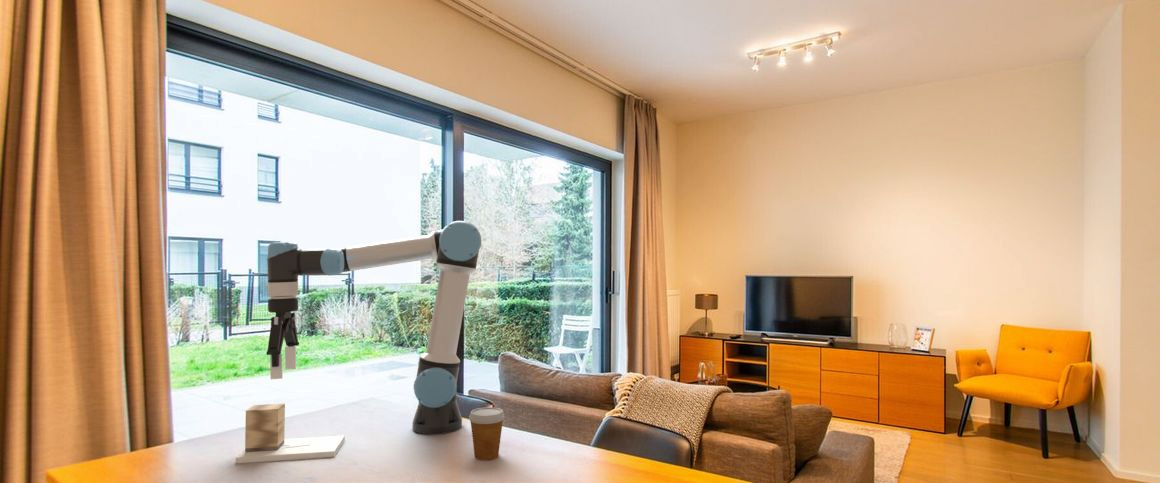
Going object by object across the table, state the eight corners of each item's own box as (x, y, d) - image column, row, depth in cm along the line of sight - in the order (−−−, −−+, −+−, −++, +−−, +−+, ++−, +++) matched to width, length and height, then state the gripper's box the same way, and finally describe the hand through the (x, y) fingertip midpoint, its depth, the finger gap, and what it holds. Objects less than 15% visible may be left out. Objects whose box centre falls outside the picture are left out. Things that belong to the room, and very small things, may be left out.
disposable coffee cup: (510, 452, 156) (510, 408, 157) (494, 464, 147) (494, 417, 148) (479, 448, 159) (479, 405, 160) (461, 460, 150) (462, 414, 151)
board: (344, 440, 167) (344, 435, 167) (334, 456, 153) (334, 451, 153) (254, 446, 162) (254, 440, 162) (235, 463, 148) (235, 457, 148)
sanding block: (284, 443, 160) (284, 403, 160) (277, 450, 154) (278, 409, 154) (252, 445, 158) (253, 405, 158) (245, 452, 152) (245, 410, 152)
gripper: (281, 295, 171) (282, 366, 170) (253, 301, 147) (253, 384, 146) (308, 294, 173) (309, 364, 172) (284, 299, 148) (285, 382, 148)
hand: (283, 373), depth 159 cm, fingers open, 13 cm apart
